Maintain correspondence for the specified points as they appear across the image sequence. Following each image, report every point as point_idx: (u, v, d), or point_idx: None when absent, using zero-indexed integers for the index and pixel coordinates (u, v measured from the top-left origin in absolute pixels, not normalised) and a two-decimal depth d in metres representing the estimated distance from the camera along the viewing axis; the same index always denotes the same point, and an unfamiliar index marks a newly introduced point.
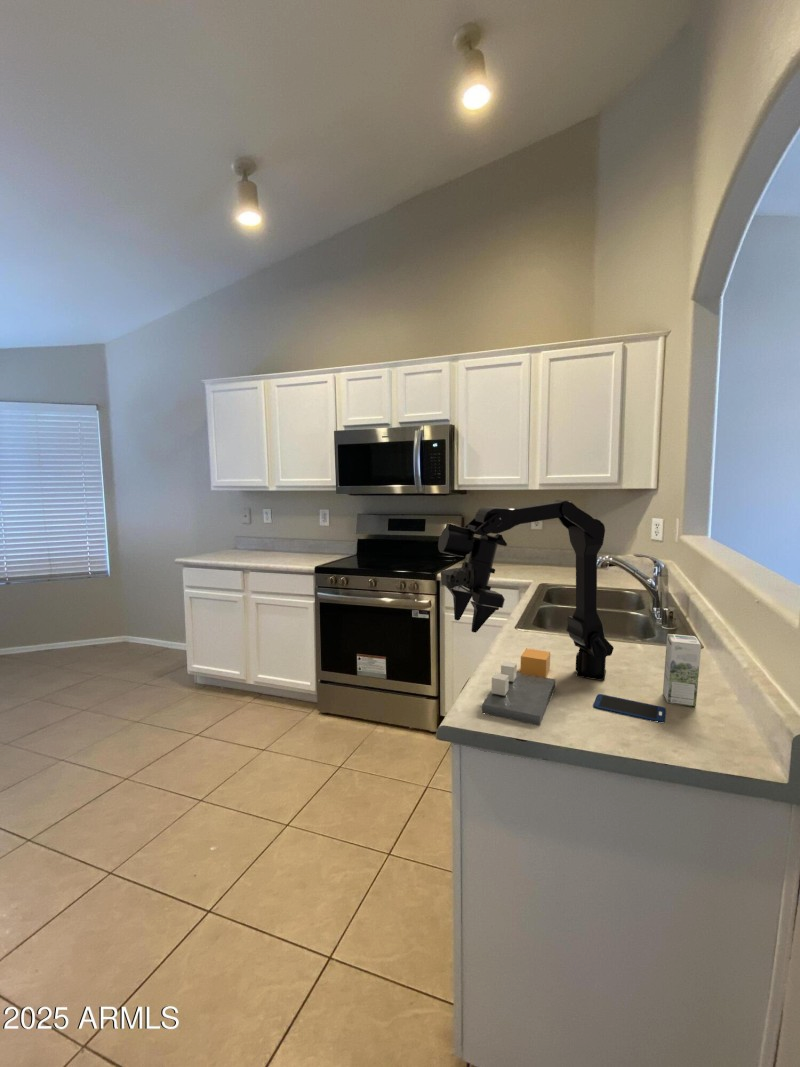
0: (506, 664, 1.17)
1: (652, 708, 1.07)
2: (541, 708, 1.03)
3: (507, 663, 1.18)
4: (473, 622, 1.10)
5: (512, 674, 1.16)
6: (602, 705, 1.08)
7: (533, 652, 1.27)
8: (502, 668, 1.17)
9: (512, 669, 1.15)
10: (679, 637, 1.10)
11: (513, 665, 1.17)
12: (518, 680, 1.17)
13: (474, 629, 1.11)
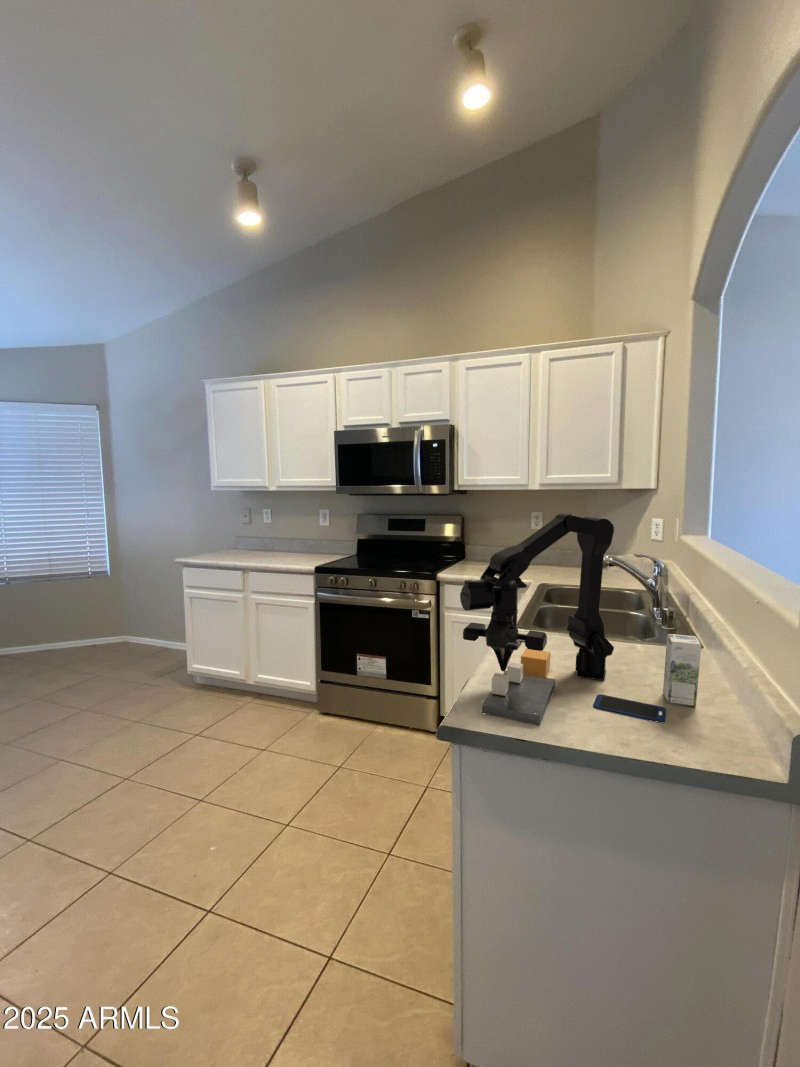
0: (512, 665, 1.16)
1: (652, 708, 1.07)
2: (541, 708, 1.03)
3: (513, 664, 1.17)
4: (505, 663, 1.17)
5: (519, 675, 1.15)
6: (602, 705, 1.08)
7: (533, 652, 1.27)
8: (508, 669, 1.16)
9: (519, 670, 1.15)
10: (679, 637, 1.10)
11: (520, 666, 1.16)
12: None
13: (505, 668, 1.18)
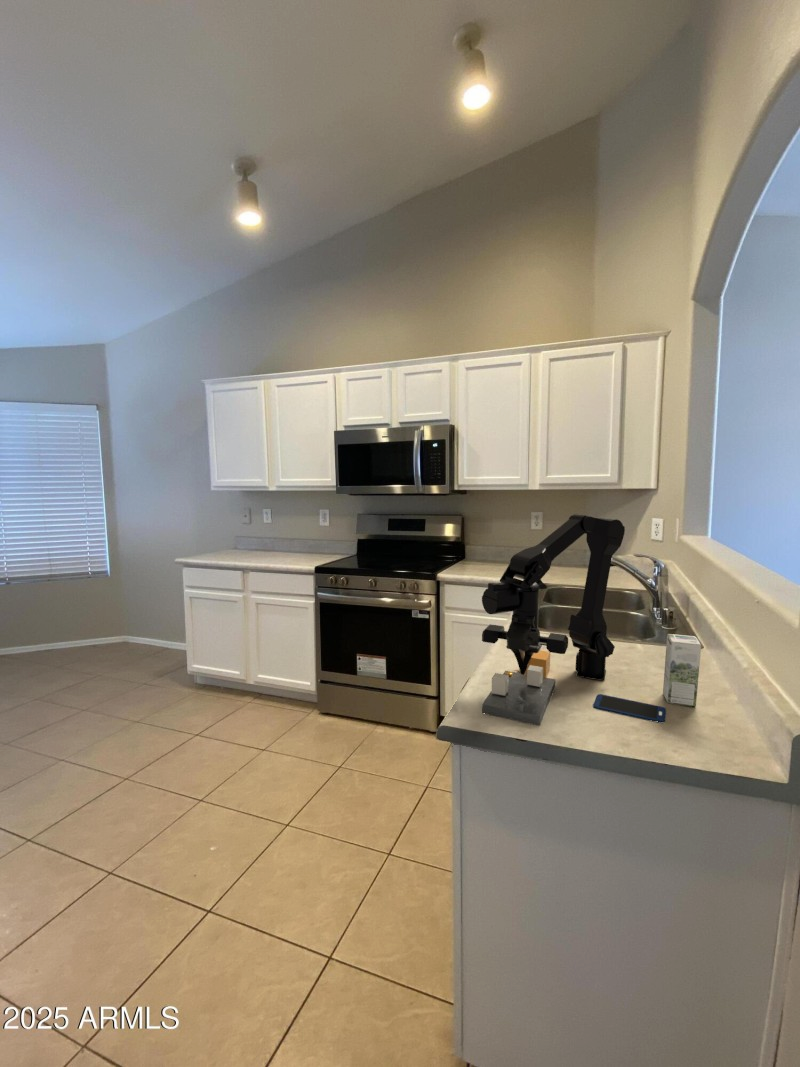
0: (532, 668, 1.14)
1: (652, 708, 1.07)
2: (541, 708, 1.03)
3: (533, 667, 1.15)
4: (525, 666, 1.15)
5: (539, 679, 1.13)
6: (602, 705, 1.08)
7: None
8: (528, 672, 1.14)
9: (539, 674, 1.13)
10: (679, 637, 1.10)
11: (540, 669, 1.14)
12: (518, 680, 1.17)
13: (525, 671, 1.16)
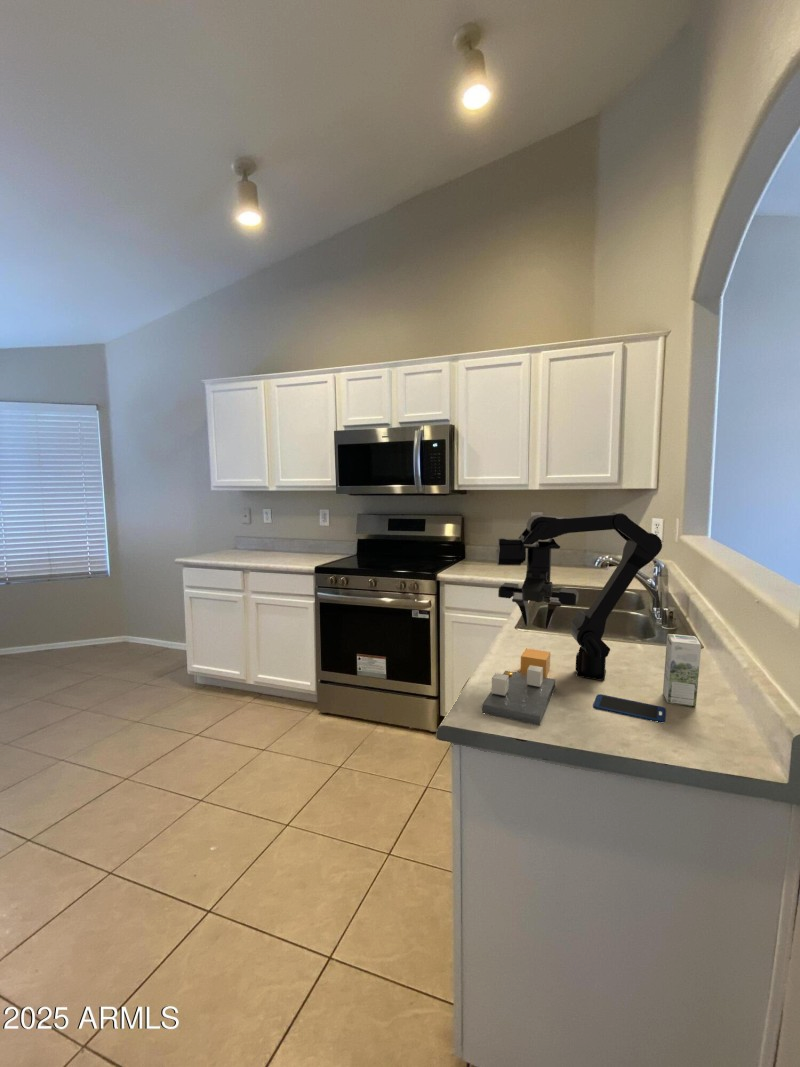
0: (532, 668, 1.14)
1: (652, 708, 1.07)
2: (541, 708, 1.03)
3: (533, 667, 1.15)
4: (548, 620, 1.23)
5: (539, 679, 1.13)
6: (602, 705, 1.08)
7: (533, 652, 1.27)
8: (528, 672, 1.14)
9: (539, 674, 1.13)
10: (679, 637, 1.10)
11: (539, 669, 1.14)
12: (518, 680, 1.17)
13: (548, 625, 1.24)
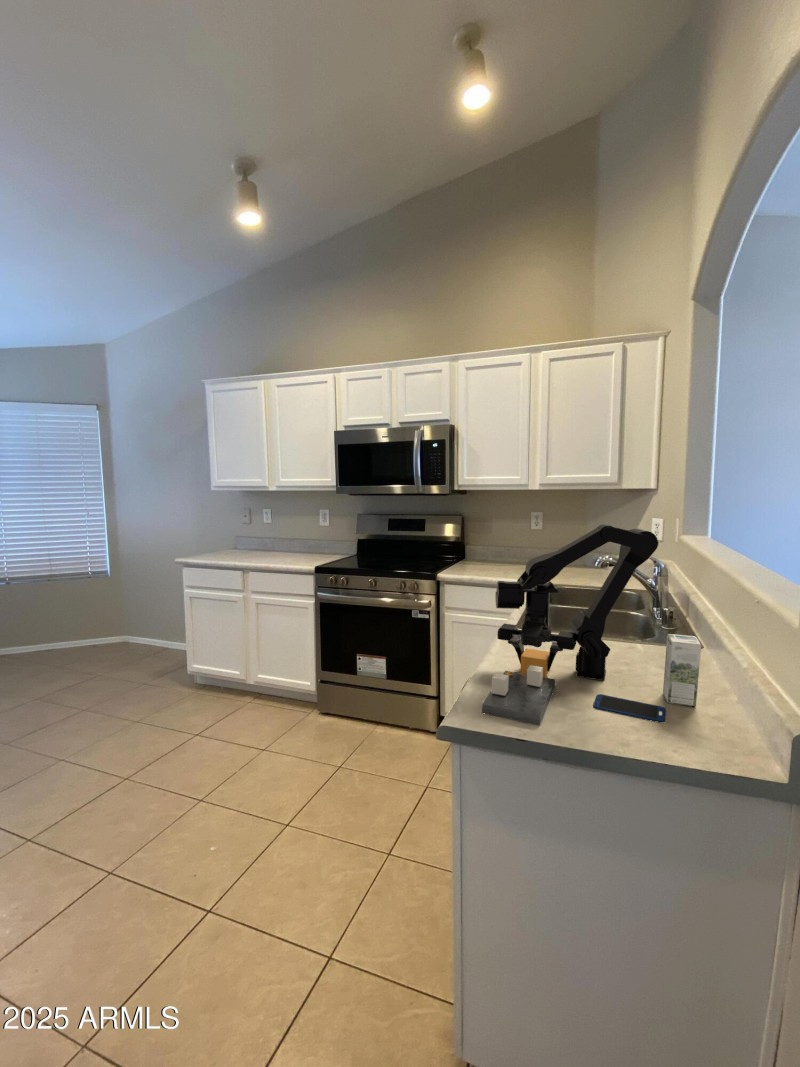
0: (532, 668, 1.14)
1: (652, 708, 1.07)
2: (541, 708, 1.03)
3: (533, 667, 1.15)
4: (550, 663, 1.24)
5: (539, 679, 1.13)
6: (602, 705, 1.08)
7: (533, 652, 1.27)
8: (528, 672, 1.14)
9: (539, 674, 1.13)
10: (679, 637, 1.10)
11: (539, 669, 1.14)
12: (518, 680, 1.17)
13: None
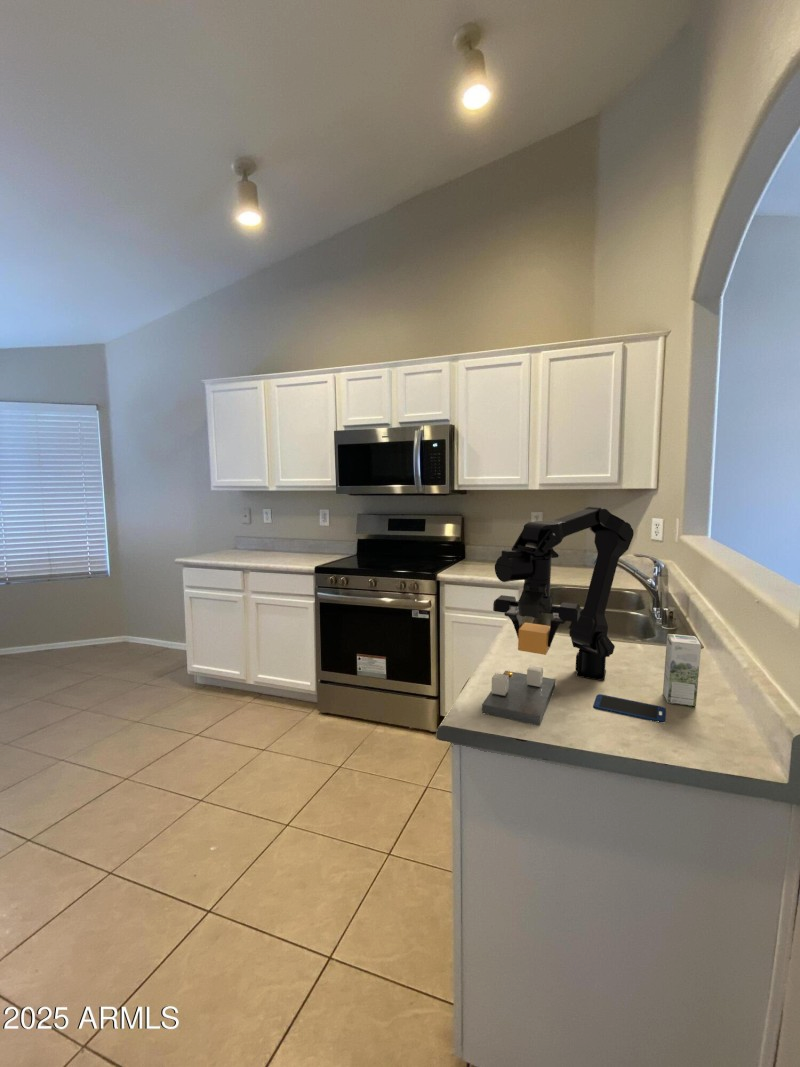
0: (532, 668, 1.14)
1: (652, 708, 1.07)
2: (541, 708, 1.03)
3: (533, 667, 1.15)
4: (551, 638, 1.12)
5: (539, 679, 1.13)
6: (602, 705, 1.08)
7: (532, 626, 1.16)
8: (528, 672, 1.14)
9: (539, 674, 1.13)
10: (679, 637, 1.10)
11: (539, 669, 1.14)
12: (518, 680, 1.17)
13: (550, 643, 1.13)
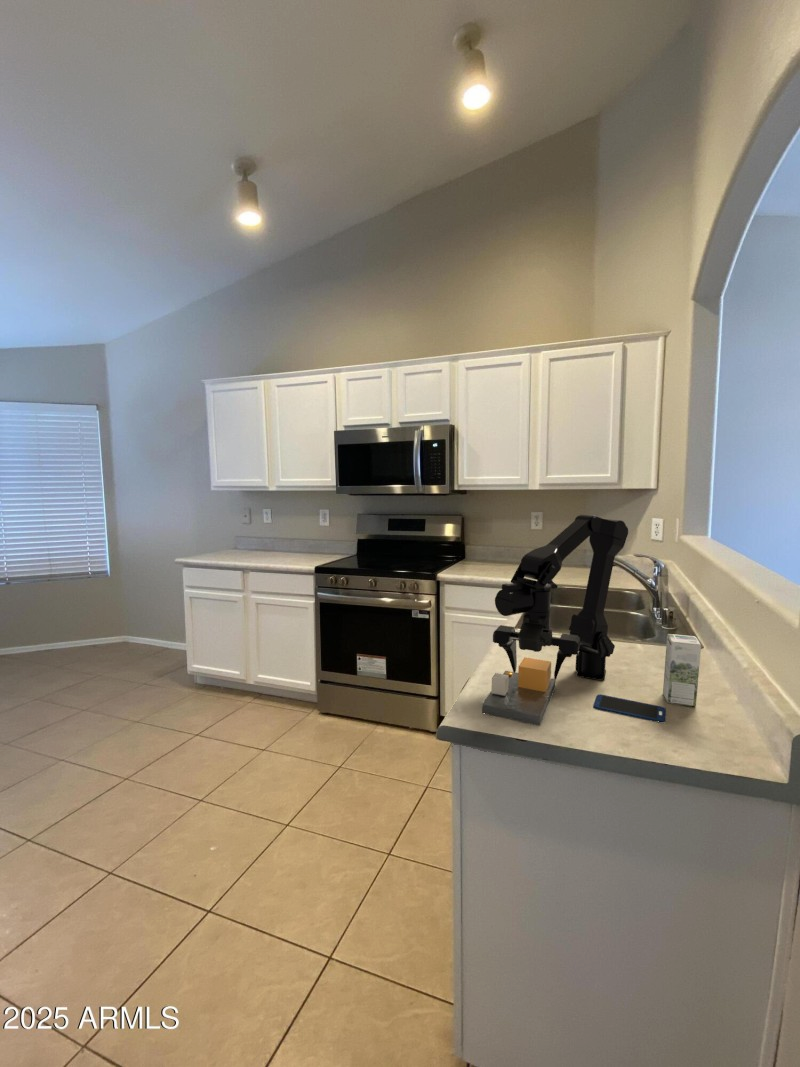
0: None
1: (652, 708, 1.07)
2: (541, 708, 1.03)
3: None
4: (557, 670, 1.12)
5: None
6: (602, 705, 1.08)
7: (532, 662, 1.16)
8: None
9: None
10: (679, 637, 1.10)
11: None
12: None
13: None
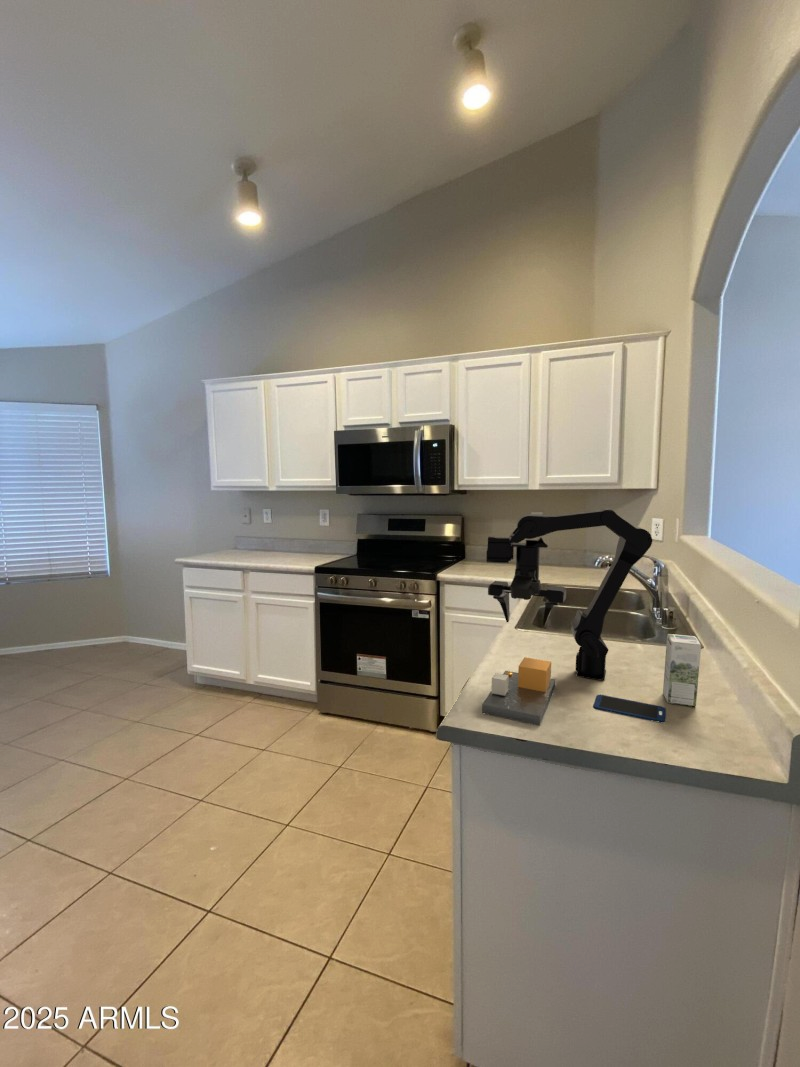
0: None
1: (652, 708, 1.07)
2: (541, 708, 1.03)
3: None
4: (545, 619, 1.24)
5: None
6: (602, 705, 1.08)
7: (532, 662, 1.16)
8: None
9: None
10: (679, 637, 1.10)
11: None
12: None
13: (545, 624, 1.25)
